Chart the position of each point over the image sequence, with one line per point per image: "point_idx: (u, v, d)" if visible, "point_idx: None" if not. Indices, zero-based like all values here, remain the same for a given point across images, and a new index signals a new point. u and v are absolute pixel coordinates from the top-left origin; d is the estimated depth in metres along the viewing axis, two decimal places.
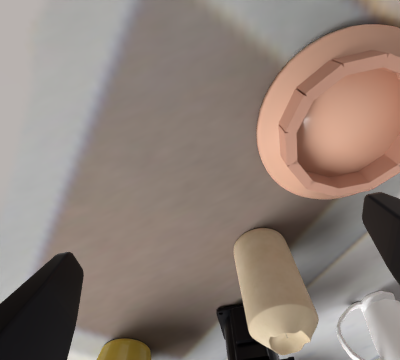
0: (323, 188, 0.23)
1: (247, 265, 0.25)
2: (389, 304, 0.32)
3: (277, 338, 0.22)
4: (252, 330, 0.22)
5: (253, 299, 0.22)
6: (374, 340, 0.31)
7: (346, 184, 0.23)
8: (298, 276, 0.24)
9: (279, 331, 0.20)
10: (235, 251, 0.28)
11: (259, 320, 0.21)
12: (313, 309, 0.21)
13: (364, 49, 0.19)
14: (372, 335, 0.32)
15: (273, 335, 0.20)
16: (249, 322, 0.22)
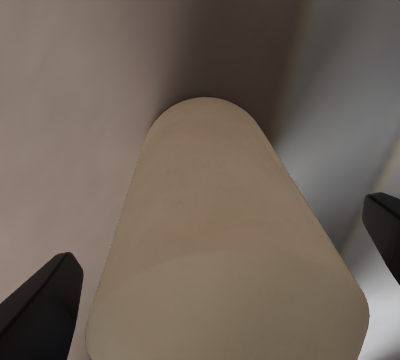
0: None
1: None
2: None
3: None
4: None
5: None
6: None
7: None
8: (257, 161, 0.07)
9: None
10: None
11: None
12: (311, 253, 0.04)
13: None
14: None
15: None
16: None
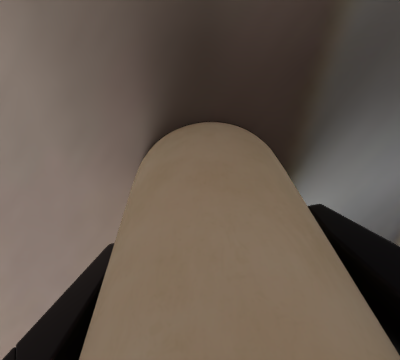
0: None
1: (112, 252, 0.07)
2: None
3: None
4: None
5: None
6: None
7: None
8: (291, 238, 0.05)
9: None
10: None
11: None
12: None
13: None
14: None
15: None
16: None
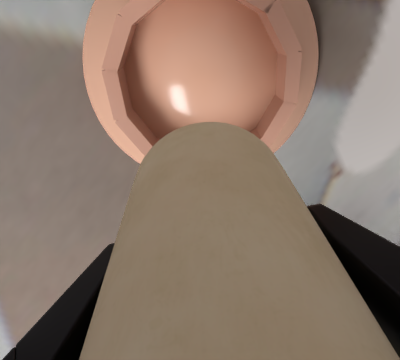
0: None
1: None
2: None
3: None
4: None
5: None
6: None
7: None
8: (288, 235, 0.05)
9: None
10: None
11: None
12: None
13: None
14: None
15: None
16: None
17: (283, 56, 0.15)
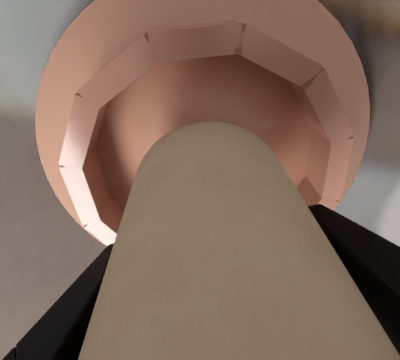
0: None
1: (113, 249, 0.07)
2: None
3: None
4: None
5: None
6: None
7: None
8: (289, 234, 0.05)
9: None
10: None
11: None
12: None
13: (136, 35, 0.10)
14: None
15: None
16: None
17: (324, 140, 0.11)
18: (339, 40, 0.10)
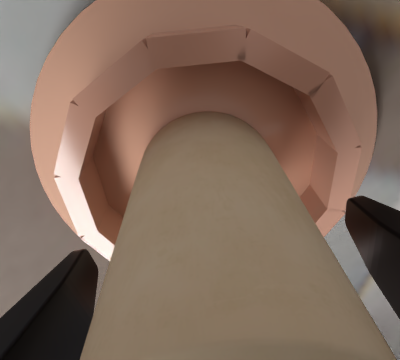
0: None
1: None
2: None
3: None
4: None
5: None
6: None
7: None
8: (269, 196, 0.06)
9: None
10: None
11: None
12: (346, 339, 0.03)
13: (135, 40, 0.09)
14: None
15: None
16: None
17: (330, 148, 0.10)
18: (346, 45, 0.10)
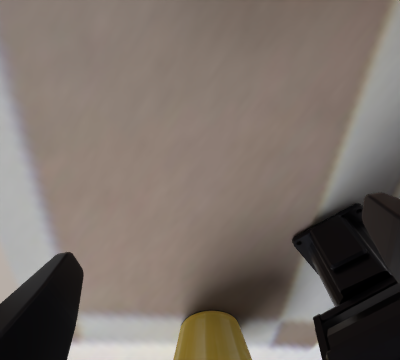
0: None
1: None
2: None
3: None
4: None
5: None
6: None
7: None
8: None
9: None
10: None
11: None
12: None
13: None
14: None
15: None
16: None
17: None
18: None
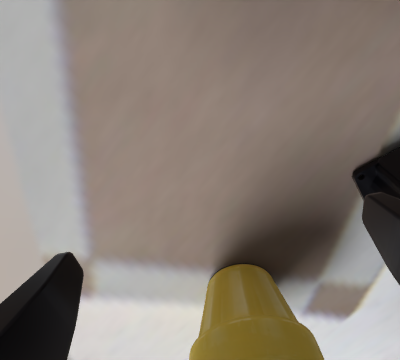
0: None
1: None
2: None
3: None
4: None
5: None
6: None
7: None
8: None
9: None
10: None
11: None
12: None
13: None
14: None
15: None
16: None
17: None
18: None
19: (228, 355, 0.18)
